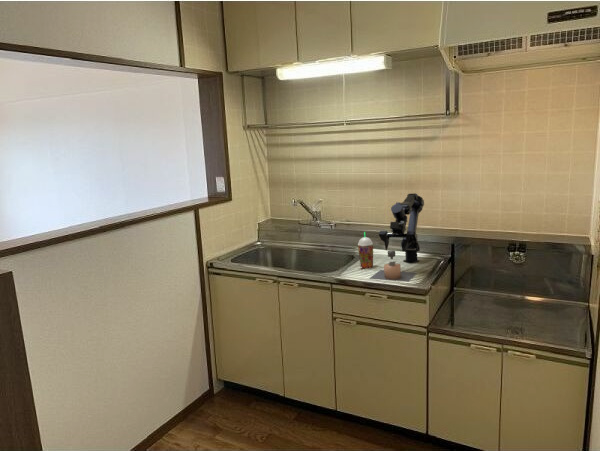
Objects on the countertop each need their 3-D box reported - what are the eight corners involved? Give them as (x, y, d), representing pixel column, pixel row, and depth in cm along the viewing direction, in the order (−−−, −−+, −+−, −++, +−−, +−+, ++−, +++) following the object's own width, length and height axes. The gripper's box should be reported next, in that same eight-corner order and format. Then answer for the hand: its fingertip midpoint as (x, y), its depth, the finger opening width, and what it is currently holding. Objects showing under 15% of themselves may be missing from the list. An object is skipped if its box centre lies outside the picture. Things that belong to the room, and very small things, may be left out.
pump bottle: (387, 274, 228) (386, 260, 226) (403, 275, 224) (402, 260, 223) (382, 278, 221) (381, 264, 220) (398, 279, 217) (397, 265, 216)
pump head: (389, 257, 223) (388, 250, 223) (396, 258, 221) (396, 250, 221) (385, 260, 218) (385, 252, 218) (392, 261, 217) (392, 253, 216)
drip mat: (369, 280, 223) (368, 278, 223) (380, 271, 237) (380, 269, 237) (408, 283, 213) (408, 281, 213) (418, 273, 227) (418, 272, 226)
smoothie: (357, 270, 243) (355, 233, 240) (361, 266, 251) (358, 230, 248) (373, 270, 240) (370, 233, 237) (376, 266, 248) (373, 230, 245)
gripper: (378, 215, 232) (372, 240, 224) (414, 215, 222) (409, 241, 215) (384, 227, 240) (378, 252, 232) (419, 227, 230) (414, 253, 223)
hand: (394, 249), depth 225 cm, fingers open, 9 cm apart
